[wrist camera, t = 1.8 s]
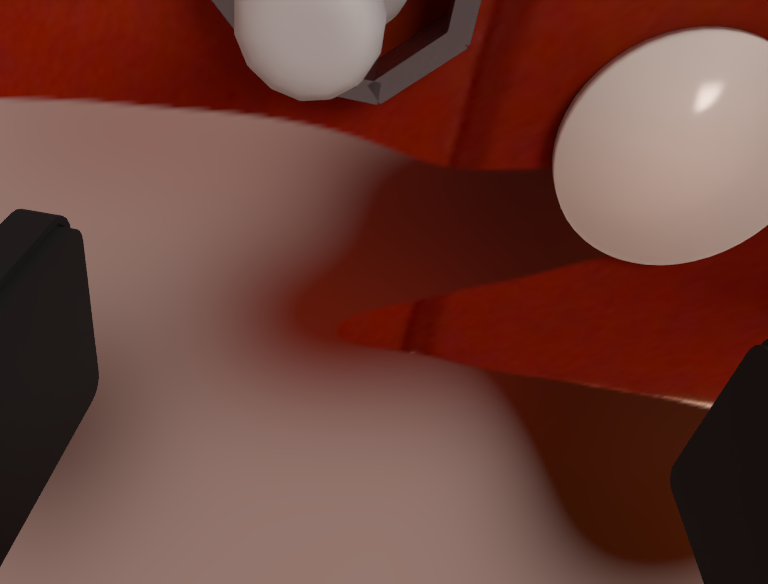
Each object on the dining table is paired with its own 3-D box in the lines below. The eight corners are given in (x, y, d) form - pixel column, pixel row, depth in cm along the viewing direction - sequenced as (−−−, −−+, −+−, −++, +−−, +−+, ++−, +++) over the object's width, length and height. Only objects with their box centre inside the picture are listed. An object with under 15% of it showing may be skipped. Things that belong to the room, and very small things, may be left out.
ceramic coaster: (605, -1, 29) (609, 5, 28) (867, 56, 30) (879, 64, 29) (521, 230, 36) (522, 240, 36) (733, 273, 37) (740, 284, 36)
